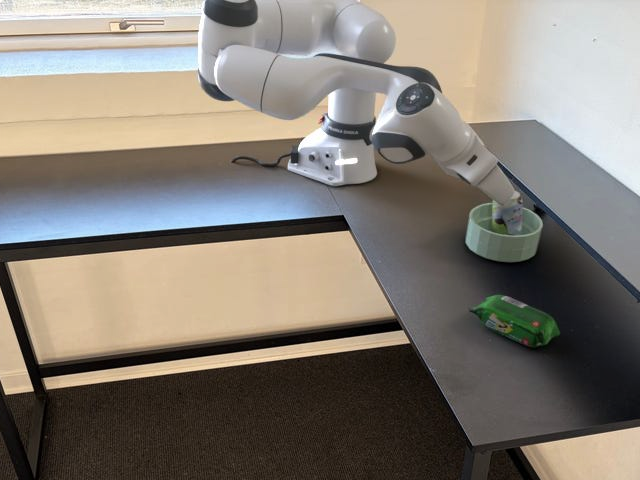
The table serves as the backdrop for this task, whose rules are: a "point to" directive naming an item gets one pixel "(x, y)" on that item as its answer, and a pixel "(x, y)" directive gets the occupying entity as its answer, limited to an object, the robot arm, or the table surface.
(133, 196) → the table surface
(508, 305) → the snack package
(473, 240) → the bowl
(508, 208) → the beverage can
